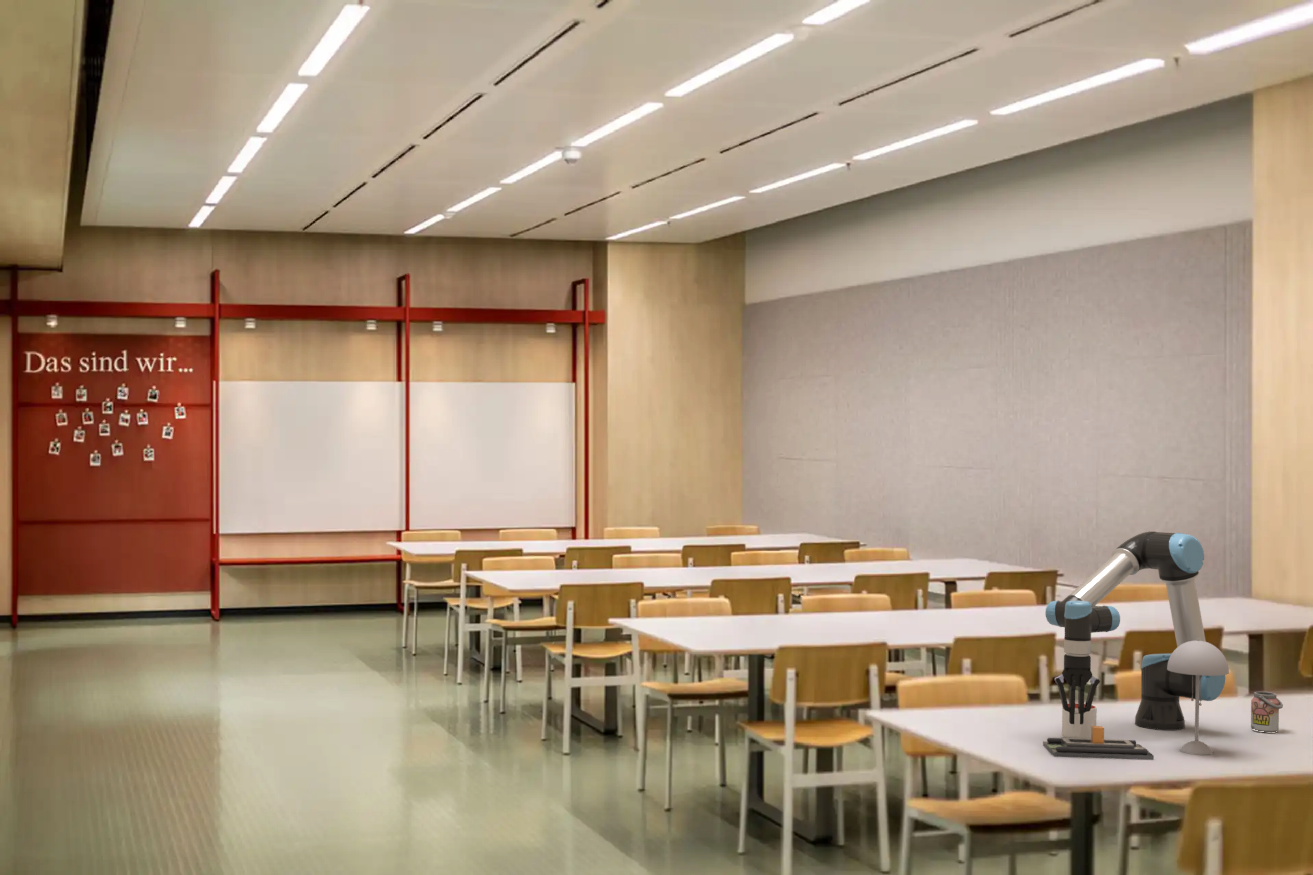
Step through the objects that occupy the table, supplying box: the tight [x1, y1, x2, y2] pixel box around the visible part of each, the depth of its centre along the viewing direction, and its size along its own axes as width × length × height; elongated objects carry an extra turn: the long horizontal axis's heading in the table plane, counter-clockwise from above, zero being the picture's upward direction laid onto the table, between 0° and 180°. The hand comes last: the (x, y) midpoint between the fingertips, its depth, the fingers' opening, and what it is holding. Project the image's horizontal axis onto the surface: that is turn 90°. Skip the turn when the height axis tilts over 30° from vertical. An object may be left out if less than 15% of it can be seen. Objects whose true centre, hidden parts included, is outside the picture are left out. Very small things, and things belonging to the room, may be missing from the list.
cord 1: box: [1046, 737, 1137, 745], centre depth 441 cm, size 26×1×1 cm, turn 86°
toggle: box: [1089, 725, 1105, 743], centre depth 435 cm, size 4×3×6 cm
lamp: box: [1167, 639, 1230, 756], centre depth 439 cm, size 17×17×33 cm
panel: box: [1042, 737, 1155, 761], centre depth 435 cm, size 28×16×3 cm, turn 86°
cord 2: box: [1056, 747, 1149, 754], centre depth 428 cm, size 26×1×1 cm, turn 86°
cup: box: [1061, 702, 1098, 739], centre depth 455 cm, size 10×10×10 cm
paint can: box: [1250, 691, 1284, 733], centre depth 473 cm, size 9×8×12 cm
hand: (1076, 735), depth 435 cm, fingers closed
